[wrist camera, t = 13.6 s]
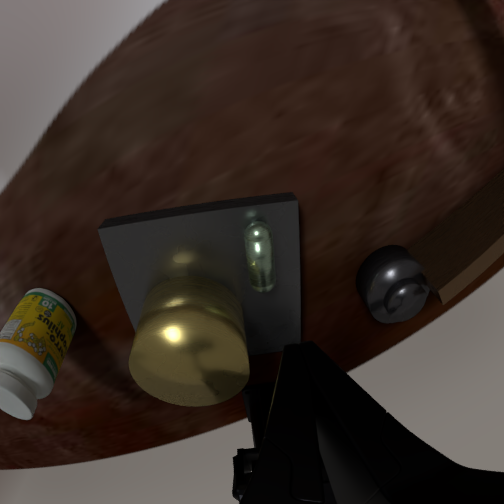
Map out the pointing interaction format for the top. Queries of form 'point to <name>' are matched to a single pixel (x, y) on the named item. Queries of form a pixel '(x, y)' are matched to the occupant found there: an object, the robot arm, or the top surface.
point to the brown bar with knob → (436, 258)
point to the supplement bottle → (33, 350)
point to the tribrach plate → (213, 258)
